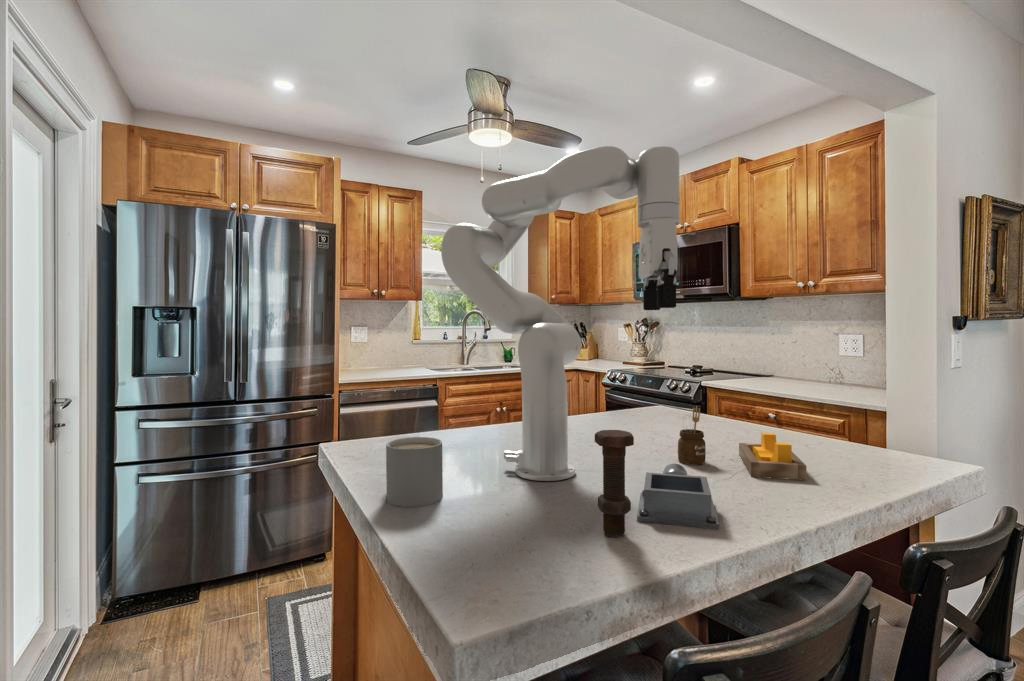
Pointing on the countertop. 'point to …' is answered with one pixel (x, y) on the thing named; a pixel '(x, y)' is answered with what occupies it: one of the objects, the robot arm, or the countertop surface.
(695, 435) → the utensil holder
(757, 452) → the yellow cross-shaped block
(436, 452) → the coffee mug
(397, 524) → the countertop surface
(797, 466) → the parts corral
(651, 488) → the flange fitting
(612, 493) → the bolt
